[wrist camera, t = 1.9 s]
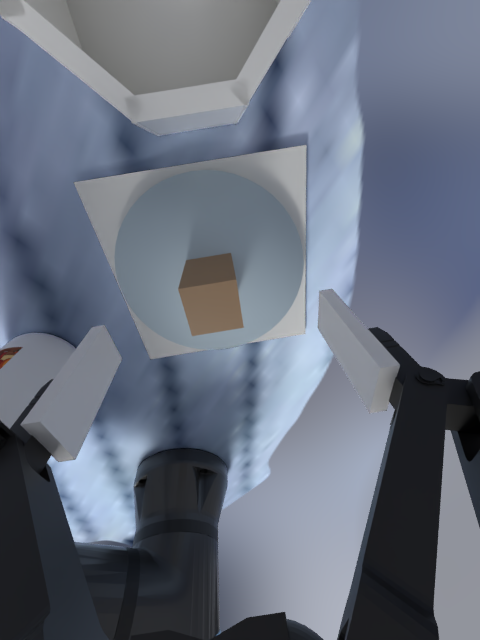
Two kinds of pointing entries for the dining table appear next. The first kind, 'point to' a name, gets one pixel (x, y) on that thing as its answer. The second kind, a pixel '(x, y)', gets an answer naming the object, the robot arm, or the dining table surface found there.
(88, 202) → the mat
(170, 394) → the dining table surface
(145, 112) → the bowl
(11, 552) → the robot arm
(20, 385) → the milk bottle
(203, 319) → the lid
